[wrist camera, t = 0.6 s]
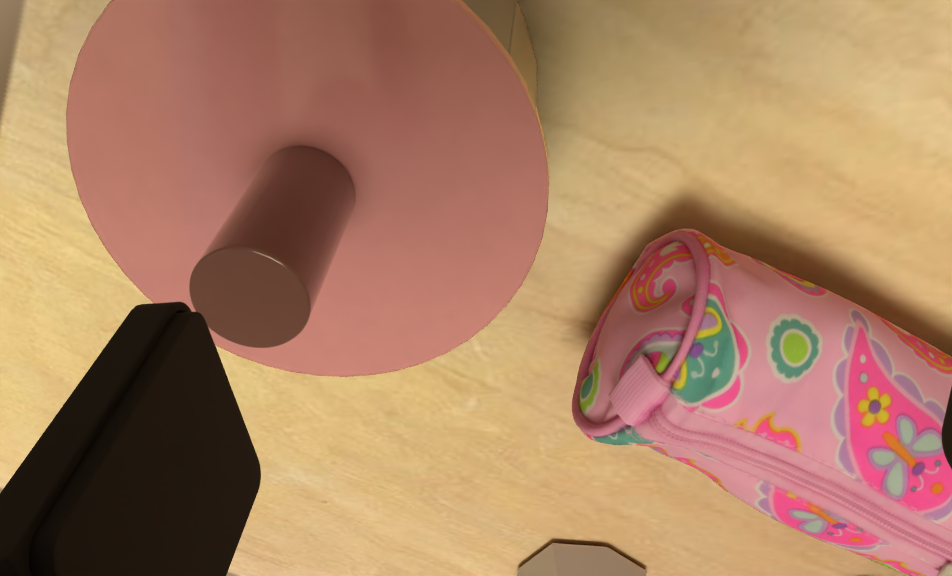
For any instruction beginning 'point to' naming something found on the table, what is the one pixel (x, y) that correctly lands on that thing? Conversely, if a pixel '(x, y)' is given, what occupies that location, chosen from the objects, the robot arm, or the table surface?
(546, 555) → the flask
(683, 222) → the table surface
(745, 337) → the pencil case
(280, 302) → the pink knobbed disc
